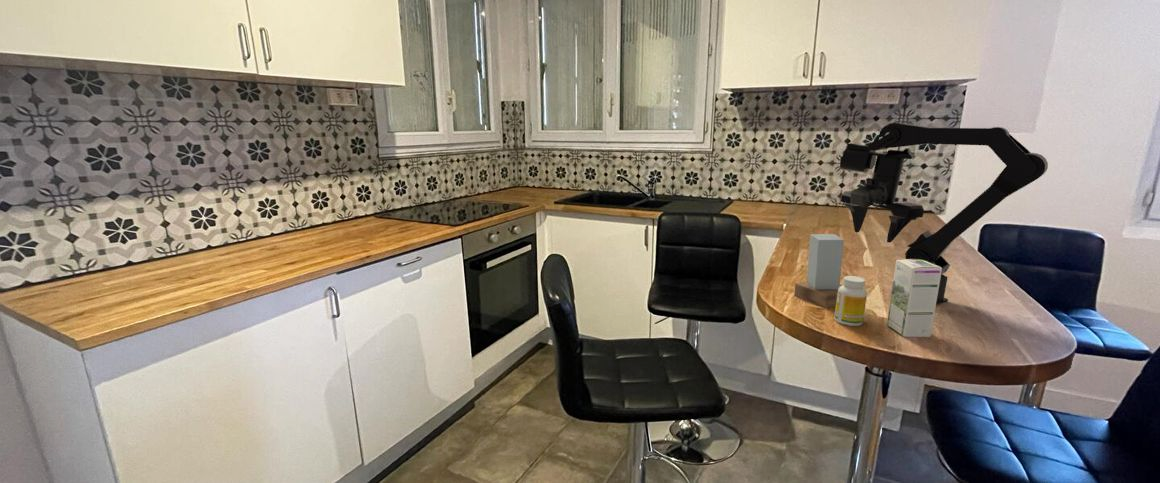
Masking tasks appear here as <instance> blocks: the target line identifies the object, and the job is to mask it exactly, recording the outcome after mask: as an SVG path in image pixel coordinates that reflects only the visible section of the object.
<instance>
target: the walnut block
mask: <svg viewBox="0 0 1160 483" xmlns="http://www.w3.org/2000/svg"><path fill="white" fill-rule="evenodd" d="M840 286H843V284H842V285H841V284H840ZM837 294H838V289H818V290H815V289H814V288H813V287H812V286H811V285H809V284H808V283H807V281H805V282H804V281H802V282H796V283H795V286H794V294H793V295H794V297H797V298H800V299H802V300H804V301H805V300H806V301H807V302H810V303H813V304H815V305H817V306H819V307H822V308H825V309H826V308H831V307H836V301H837Z"/></svg>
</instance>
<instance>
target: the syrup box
mask: <svg viewBox="0 0 1160 483" xmlns="http://www.w3.org/2000/svg"><path fill="white" fill-rule="evenodd" d="M941 272H942V267H939V266H937V265H934V264H932V263H929V262H927V261H924V260H920V259H906V258H904V259H896V261H895V266H894V273H893V274H894V275H893V280H892V286H891V293H890V301H889V309H888V314H887V315H888V316H887V323H886V326H887V327H888V328H890V329H891V330H893V331H894V332H896V333H897V334H899V335H900V336H902V337H904V338H931V337H932V330H933V324H934V318H935V312H936V308H937V307H936V306H937V303H936V301H937V295H938V290H939V284H940V278H941Z"/></svg>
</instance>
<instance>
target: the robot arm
mask: <svg viewBox="0 0 1160 483" xmlns="http://www.w3.org/2000/svg"><path fill="white" fill-rule="evenodd" d="M919 145H950V146H951V145H956V146H957V145H958V146H959V145H961V146H986V147H989V148H990V150H992V152H993V153H994V154H995V155H996V156H997V157H998V158H999V160H1000V161H1001V162H1002V163H1003V164H1004V165H1005V167H1004V168H1003V169H1002V171H1001V172H1000V173H999V174H998V175H997V177H996V178H995V180H993V182H992V183H991V184H990V186H989V187H988V188H987V189H985V190H984V191H983V192H982V193H980V194H979V195H978V196H977V197H976V198H975V199H974V200H973V201H971V202H970V203H969V204H968V205H966V206H965V207H964V208H963V209H962V210H960V212H959V213H957V214H956V215H955V216H954V217H952V218H951V219H950V220H949V221H947V222H946V223H945V225H942V226H941V227H940V229H938V230H937V231H935V232H934V233H931V232H930V230H926V231H923V232H922V233H921V234H920V235H919V236H918V237H917V238H916V240H915V241H912V242H911V243H909V244H907V247H909V248H908V249H907V250H906V251H905V254H904V255H905V259H920V260H924V261H927V262H929V263H932V264H934V265H937V266H939V267H942V272H941V278H940V284H939V290H938V295H937V301H936V304H938V303H943V302H944V303H945V302H948V301H949V298H947V297H945V293H946V289H947V288H946V287H947V282H948V277H949V276H946V275H944V274H945V273H946V272H947V271H948V270H949V268H950V267H951V265H950V263H949V262H948V261H947V260H946V259H945V258H944V256H943V255H944V254H945V252H946V251H947V250H948V248H949V247H950V246H951V245H952V243H953V242H954V241H955V240H956V239H957V238H958V237H959V236H961V235H962V234H963V233H965V232H966V231H967V230H969V229H970V228H971V227H972V226H973V225H974V224H975V223H977V221H979V220H980V219H981V218H983V217H984V216H985V215H986V214H988V213H989V212H990V211H991V210H992V209H993V208H995V207H996V206H998V205H999V204H1000V203H1002V201H1004V200H1005V199H1006V198H1007V197H1009V196H1011V195H1012V194H1014V193H1016V192H1018V191H1020V190H1021V189H1022V188H1025V187H1026V186H1028V185H1030V184H1031V183H1033V182H1034V181H1037V180H1038V179H1040V178H1041V177H1042V176H1044V174H1045V173H1046V172H1047V170H1048V168H1049V167H1048V166H1049V165H1048V164H1049V162H1048V160H1047V159H1046V157H1044V156H1043V155H1042V154H1039V153H1036V152H1031V151H1030V150H1028V148H1027V147H1026V146H1024V144H1022V143H1021V142H1019V141H1018V140H1017V138H1015V137H1013V135H1012V134H1011V133H1010V132H1009V131H1008V129H1006V128H1005V127H1001V126H993V127H990V128H989V127H988V128H987V127H982V128H981V127H977V128H976V127H970V128H969V127H929V126H922V125H917V124H912V123H905V122H891V123H888V124H886V125H884V126H883V127H882V128H881V130H879V134H878V136H877V137H876V138H875V139H874V140H873V141H872V142H870V144H868V145H864V144H863V145H862V144H857V143H854V142H853V143H852V142H851V143H850V142H849V143H847V145H846V148H845V149H844V151H843V152H842V156H841V157H840V162H839V166H840V169H841V170H842V171H850V172H858V173H863V174H864V173H868V172H869V171H870V170H873V172H872V173H873V174H872V177H869V178H867V180H866V183H865V185H862V186H859V187H857V188H855V189H853V190H849V191H847V190H845V191H844V192H843V193H842V194H841V195H840V202H841V203H844V204H843V205H844V207H846V208H848V210H849V211H850V214H851V217H852V222H853V228H854V229H853V230H854V232H855V233H860V231H861V229H862V227H863V224H864V222H865V218H866V215H867V213H868V211H869V207H871V206H873V207H876V208H881V209H884V210H887V211H888V210H889V211H890V213H891V214H892V215H888V218H889V220H890V224H889V227H888V232H887V236H886V237H887V239H886V243H892V242H893V241H894V240H895V239H896V238H897V236H898V235H899V234H900V232H902V230H903V229H904V228H905V227H907V225H908V224H909V223H911V221H915V220H917V219H919V218H923V217H924V214H925V209H924V207H923V205H921V204H919V203H918V204H917V203H912V202H899V199H900V198H899V197H897V192H898V188H899V186H903V185H904V184H903V183H904V180H903V181H902V180H901V176H902V172H903V167H904V163H905V160H913V159H915V158H916V155H915V154H914V153H913V152H912V151H911V149H910V148H909V147H910V146H911V147H912V146H919ZM901 147H902V148H903V147H907V148H904V149H903V150H899V149H898V150H897V149H896V150H895V149H894V148H901ZM888 149H889V150H888ZM883 150H884V151H885V150H887V151H886V153H883V152H876V151H883Z"/></svg>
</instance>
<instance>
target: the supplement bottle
mask: <svg viewBox="0 0 1160 483" xmlns="http://www.w3.org/2000/svg"><path fill="white" fill-rule="evenodd" d="M865 287H866V279H865V278H863V277H860V276H855V275H845V276H844V277H843V280H842V286H840V287H839V289H838V294H837V301H836V306H835V307H834V308H835V309H834V317H833V318H834V320H835V321H836V322H837V323H839V324H841V325H844V326H849V327H858V326H861V325H863V321H864V317H865V310H866V305H867V298H868V292H867V290H866V289H865Z"/></svg>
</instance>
